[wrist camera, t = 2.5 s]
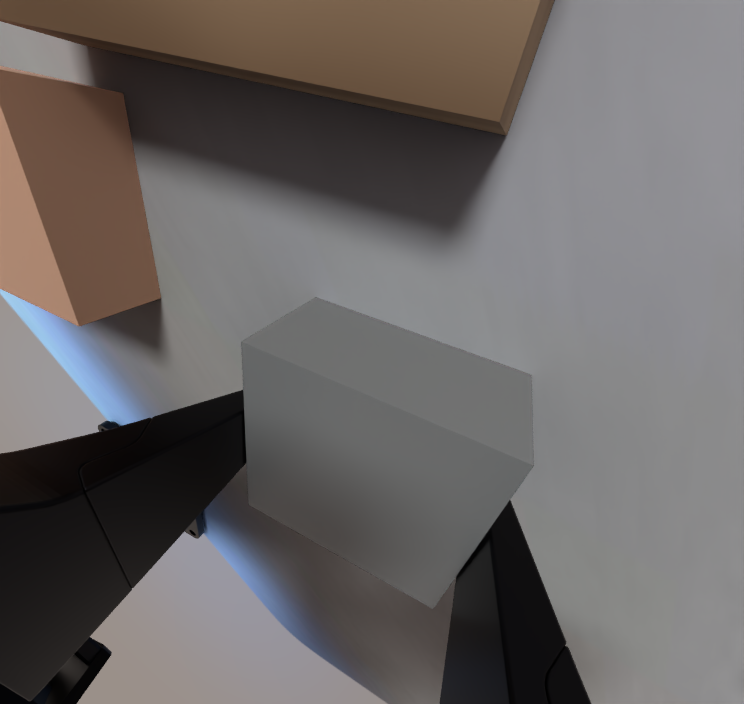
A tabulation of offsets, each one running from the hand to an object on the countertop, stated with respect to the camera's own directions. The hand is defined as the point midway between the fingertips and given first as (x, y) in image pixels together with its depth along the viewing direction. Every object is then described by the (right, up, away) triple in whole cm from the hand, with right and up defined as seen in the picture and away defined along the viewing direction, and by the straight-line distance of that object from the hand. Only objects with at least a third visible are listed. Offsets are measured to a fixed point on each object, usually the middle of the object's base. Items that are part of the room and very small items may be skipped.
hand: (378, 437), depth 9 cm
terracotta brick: (-10, +8, +2) cm, 13 cm away
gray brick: (0, +1, +1) cm, 1 cm away
